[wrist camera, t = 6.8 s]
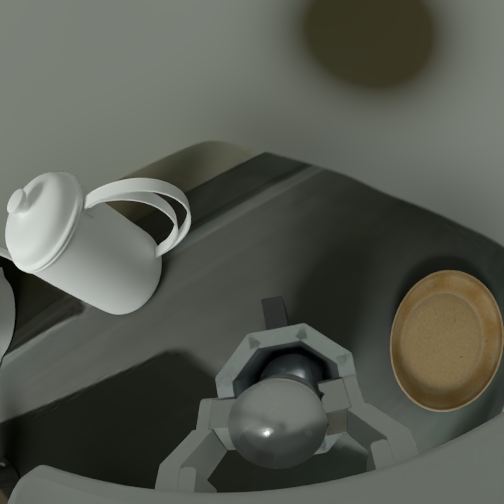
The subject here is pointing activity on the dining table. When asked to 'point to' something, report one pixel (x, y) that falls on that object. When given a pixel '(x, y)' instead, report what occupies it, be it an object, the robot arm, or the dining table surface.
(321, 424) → the dumbbell
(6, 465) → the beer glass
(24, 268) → the coffeepot
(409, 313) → the plant saucer
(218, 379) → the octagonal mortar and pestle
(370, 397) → the dining table surface
